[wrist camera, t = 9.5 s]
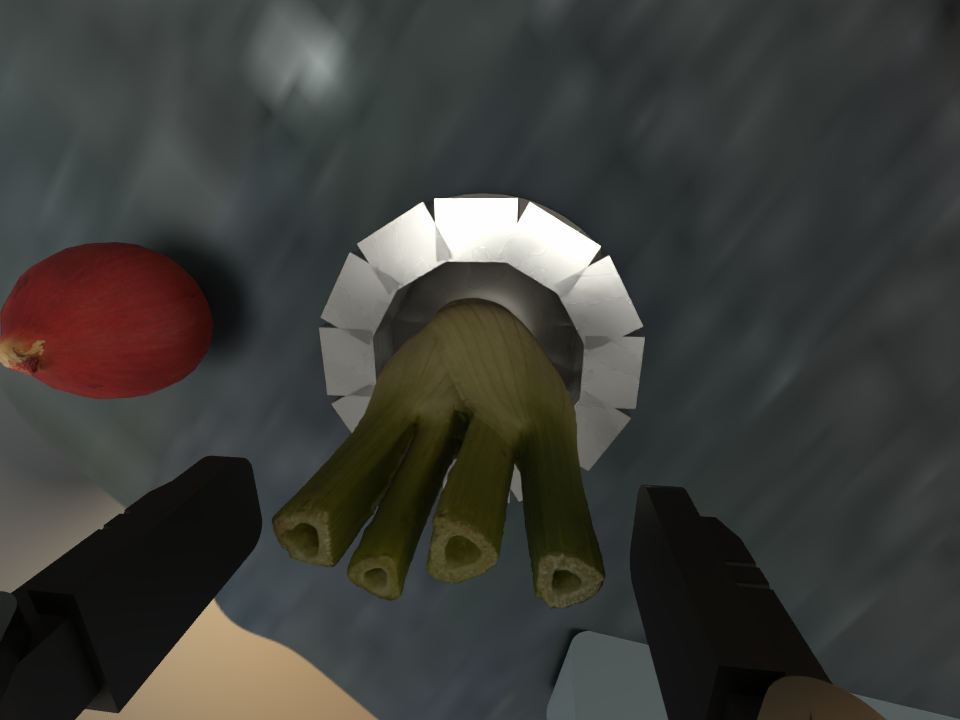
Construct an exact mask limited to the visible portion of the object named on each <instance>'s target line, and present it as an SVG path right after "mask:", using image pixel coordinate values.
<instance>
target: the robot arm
mask: <svg viewBox="0 0 960 720" xmlns="http://www.w3.org/2000/svg"><path fill="white" fill-rule="evenodd" d="M261 529H262V516H261V511H260V506H259V501H258V495H257V490H256V485H255V479H254V474H253V469H252V466H251V463H250V462H249V461H248V460H247V459H245V458H239V457H223V456H206V457H204V458H202V459H201V460H200V461H198V462H197V463H196V464H194V465H193V466H192V467H190V468H189V469H188V470H186V471H185V472H184V473H182V474H181V475H180V476H178V477H177V478H176V479H174V480H173V481H171V482H169V483H167V484H165V485H163V486H161V487H159V488H157V489H155V490H152V491H150V492H149V493H147V494H146V495H144V496H143V497H142V498H140V499H139V500H138V501H136V502H135V503H134V504H132V505H131V506H129V507H128V508H127V509H125V512H124V514H119V515H117V516H116V517H114V518H113V519H112V520H110V521H109V522H108V523H106V524H105V525H104V528H103V529H102V530H100V529H98V530H97V531H96V532H94V533H93V534H91V535H90V536H89V537H87V538H86V539H84V540H83V541H82V542H80V543H79V544H78V545H76V546H75V547H73V548H72V549H71V550H69V551H68V552H67V553H66V554H64V555H63V556H61V557H60V558H59V559H57V560H56V561H54V562H53V563H52V564H50V565H49V566H48V567H46V568H45V569H44V570H42V571H41V572H40V573H38V574H37V575H35V576H34V577H33V578H32V579H30V580H29V581H27V582H26V583H25V584H23V585H22V586H20V587H19V588H18V589H16V590H15V591H13V592H12V593H8V592H3V591H0V720H75V719H76V718H77V717H78V716H79V715H80V714H81V712H82V711H83V710H84V709H91V710H98V711H105V712H113V713H119V712H120V711H121V710H122V709H123V707H124V706H125V705H126V704H127V703H128V701H129V700H130V699H131V698H132V697H133V695H134V694H135V693H136V692H137V690H138V689H139V688H140V687H141V686H142V684H143V683H144V682H145V681H146V679H147V678H148V677H149V676H150V675H151V673H152V672H153V671H154V669H156V667H157V666H158V665H159V664H160V663H161V661H162V660H163V659H164V658H165V656H166V655H167V654H168V653H169V652H170V650H171V649H172V648H173V647H174V646H175V644H176V643H177V642H178V641H179V640H180V638H181V637H182V636H183V635H184V633H185V632H186V631H187V630H188V629H189V627H190V626H191V625H192V624H193V623H194V621H195V620H196V619H197V618H198V616H199V615H200V614H201V613H202V611H203V610H204V609H205V608H206V607H207V606H208V604H209V603H210V602H211V601H212V599H213V598H214V597H215V596H216V595H217V593H218V592H219V591H220V590H221V589H222V587H223V586H224V585H225V584H226V583H227V581H228V580H229V579H230V578H231V576H232V575H233V574H234V573H235V572H236V570H237V569H238V568H239V567H240V566H241V564H242V563H243V562H244V561H245V559H246V558H247V557H248V556H249V555H250V553H251V552H252V551H253V549H254V548H255V546H256V544H257V542H258V540H259V537H260V534H261ZM630 571H631V579H632V585H633V589H634V593H635V596H636V600H637V604H638V608H639V611H640V615H641V619H642V623H643V626H644V630H645V634H646V638H647V642H648V645H649V649H650V653H651V657H652V660H653V664H654V668H655V672H656V676H657V679H658V683H659V687H660V691H661V694H662V698H663V702H664V706H665V709H666V713H667V717H668V720H886V719H885V718H884V717H883V716H882V715H880V714H879V713H878V712H877V711H876V710H875V709H873V708H872V707H870V706H869V705H868V704H866V703H865V702H864V701H862V700H861V699H859V698H857V697H856V696H854V695H853V694H851V693H849V692H847V691H846V690H844V689H842V688H840V687H838V686H836V685H833V684H832V682H831V681H830V680H829V678H828V676H827V675H826V673H825V672H824V670H823V668H822V667H821V665H820V664H819V662H818V661H817V659H816V657H815V656H814V654H813V653H812V651H811V649H810V648H809V646H808V645H807V643H806V642H805V640H804V638H803V637H802V635H801V634H800V632H799V630H798V629H797V627H796V626H795V624H794V623H793V621H792V619H791V618H790V616H789V615H788V613H787V611H786V610H785V608H784V607H783V605H782V604H781V602H780V600H779V599H778V597H777V596H776V594H775V592H774V591H773V590H770V588H769V583H768V581H767V580H766V578H765V577H764V575H763V573H762V572H761V570H760V569H759V568H756V562H755V561H754V559H753V558H752V556H751V554H750V553H749V551H748V550H747V548H746V547H745V545H744V543H743V542H742V540H741V539H740V538H739V537H738V536H737V535H736V534H735V533H733V532H732V531H731V530H730V529H729V528H727V527H726V526H725V525H724V524H723V523H722V522H720V521H719V520H718V519H717V518H716V517H702V516H700V515H699V513H698V511H697V509H696V508H695V506H694V504H693V502H692V500H691V498H690V497H689V495H688V493H687V491H686V490H685V489H684V488H682V487H669V486H654V485H641V486H640V488H639V491H638V497H637V504H636V511H635V519H634V526H633V534H632V541H631V549H630Z"/></svg>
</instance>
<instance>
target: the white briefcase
mask: <svg viewBox="0 0 960 720" xmlns="http://www.w3.org/2000/svg"><path fill="white" fill-rule="evenodd" d="M851 694H852V693H851ZM853 695H854V696H856V697H857V698H859V699H861V700H862V701H864V702H865V703H866V704H868V705H869V706H870V707H872V708H873V709H875V710H876V711H877V712H878V713H879V714H880V715H882V716H883V717H884V718H885V719H886V720H960V719H957V718H953V717H949V716H944V715H940V714H936V713H932V712H928V711H923V710H919V709H915V708H911V707H907V706H902V705H898V704H894V703H890V702H886V701H881V700H877V699H873V698H869V697H865V696H860V695H856V694H853ZM547 720H668V717H667V713H666V709H665V706H664V702H663V698H662V694H661V691H660V687H659V683H658V679H657V676H656V672H655V668H654V664H653V660H652V657H651V653H650V649H649V645H646V644H642V643H638V642H634V641H630V640H625V639H621V638H617V637H613V636H609V635H604V634H600V633H596V632H592V631H584V632H581V633H579V634H577V635H576V636H575V637H574V638H573V640H572V642H571V644H570V647H569V650H568V652H567V655H566V658H565V660H564V663H563V666H562V668H561V671H560V674H559V676H558V679H557V682H556V684H555V687H554V690H553V693H552V695H551V698H550V701H549V703H548V706H547Z"/></svg>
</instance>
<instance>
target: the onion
mask: <svg viewBox="0 0 960 720" xmlns="http://www.w3.org/2000/svg"><path fill="white" fill-rule="evenodd" d="M0 316H1V338H0V363H1V364H2V365H3V366H5V367H7V368H9V369H11V370H13V371H18V372H22V373H25V374H27V375H30V376H31V375H32V376H33V377H35V378H37V379H38V380H40V381H42V382H43V383H45V384H47V385H48V386H50V387H52V388H54V389H58V390H61V391H65V392H69V393H72V394H76V395H79V396H83V397H88V398H94V399H115V398H131V397H137V396H143V395H148V394H151V393H153V392H156V391H158V390H161V389H164V388H166V387H168V386H170V385H172V384H174V383H176V382H178V381H180V380H182V379H184V378H185V377H186V376H187V375H189V374H190V373H191V372H192V371H194V370H195V369H196V367H197V366H198V364H199V363H200V361H201V360H202V358H203V357H204V356H205V354H206V353H207V350H208V348H209V346H210V343H211V338H212V331H213V324H214V323H213V319H212V315H211V312H210V308H209V304H208V301H207V299H206V298H205V296H204V294H203V292H202V291H201V289H200V287H199V286H198V284H197V282H196V280H195V279H193V278H192V277H191V276H190V275H189V274H188V273H187V272H186V271H185V270H184V269H183V268H182V267H181V266H180V265H179V264H178V263H176V262H175V261H173V260H171V259H170V258H168V257H167V256H165V255H162V254H160V253H157V252H155V251H152V250H149V249H147V248H144V247H142V246H139V245H135V244H126V243H118V242H111V243H91V244H84V245H79V246H75V247H70V248H66V249H64V250H62V251H60V252H58V253H56V254H54V255H52V256H50V257H48V258H46V259H44V260H43V261H41V262H39V263H37V264H36V265H34V266H32V267H31V268H29V269H28V270H27V271H26V272H25V273H24V274H23V275H22V276H21V277H20V278H19V279H18V281H17V283H16V285H15V286H14V288H13V290H12V291H11V293H10V295H9V297H8V298H7V300H6V302H5V303H4V305H3V308H2V311H1V313H0Z"/></svg>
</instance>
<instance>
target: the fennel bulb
mask: <svg viewBox="0 0 960 720" xmlns="http://www.w3.org/2000/svg"><path fill="white" fill-rule="evenodd" d="M455 459H457V460H456V462H455V464H454V466H453V467H452V468H451V469H450V471H449V473H448V476H447V482H446V485H445V487H444V490H443V491H442V493H441V496H440V499H439V502H438V507H437V510H436V512H435V515H434V517H433V521H432V523H433V528H434V529H433V532H432V538H431V543H430V549H429V555H428V560H427V572H428V573H429V574H430V575H431V576H432V577H433V578H435V579H437V580H439V581H442V582H446V583H460V582H463V581H464V580H467V579H471V578H474V577H476V576H478V575H482V574H483V573H485V572H486V571H487V570H488V569H490V568H492V567H493V566H495V565H496V563H497V560H498V558H499V555H500V549H501V541H502V537H503V533H504V531H503V528H504V523H505V520H506V507H507V504H508V497H509V492H510V487H511V481H512V477H513V471H514V464H515V465H516V467H517V469H518V470H519V472H520V476H521V489H522V496H523V504H524V505H523V508H524V515H525V527H526V532H527V539H528V548H529V555H530V558H531V567H532V571H533V583H534V591H535V597H540V598H541V599H542V600H543V601H544V602H545V603H546V604H547V606H548V607H549V608H568V607H570V606H571V605H573V604H576V603H581V602H585V601H586V600H588V599H590V598H591V597H593V596H594V595H596V594H597V593H598V591H599V590H600V588H601V587H602V585H603V581H604V579H605V570H604V566H603V560H602V554H601V552H600V548H599V544H598V541H597V538H596V535H595V532H594V529H593V526H592V521H591V517H590V512H589V509H588V503H587V500H586V496H585V493H584V488H583V484H582V479H581V472H580V462H579V458H578V448H577V423H576V412H575V408H574V406H573V402H572V398H571V395H570V393H569V392H568V391H567V388H566V386H565V385H564V382H563V380H562V378H561V377H560V376H559V374H558V371H557V369H555V367H554V365H553V362H552V360H551V359H550V358H549V356H548V355H547V353H546V352H545V350H544V348H543V347H542V346H541V344H540V342H539V341H538V340H537V338H535V337H534V336H533V334H532V333H531V332H530V330H529V329H528V328H527V327H526V326H525V325H524V324H523V323H522V321H521V320H519V319H518V318H517V317H516V316H515V315H514V314H512V313H511V311H509V310H508V309H507V308H505V307H504V306H502V305H500V304H498V303H496V302H493V301H490V300H485V299H481V298H465V299H458V300H454V301H451V302H449V303H447V304H446V305H445V306H443V307H442V308H440V309H439V311H438V312H437V313H436V314H435V316H434V317H433V318H432V319H431V320H430V322H429V323H428V324H427V325H425V326H424V327H423V328H422V329H420V330H418V331H417V332H415V334H413V335H412V336H411V337H410V338H409V339H408V340H407V341H406V342H405V343H404V344H403V345H402V346H401V347H400V349H398V350H397V351H396V352H395V353H394V355H393V356H392V357H391V358H390V359H389V361H388V362H387V364H386V365H385V366H384V368H383V369H382V371H381V373H380V375H379V377H378V379H377V382H376V385H375V387H374V390H373V393H372V396H371V398H370V401H369V403H368V406H367V409H366V411H365V414H364V415H363V417H362V418H361V419H360V421H359V423H358V425H357V427H356V428H355V429H354V431H353V433H352V434H351V435H350V436H349V437H348V438H347V440H346V441H345V442H344V443H343V444H342V445H341V446H340V448H338V449H337V450H336V452H335V453H334V454H333V455H332V457H331V458H330V459H329V460H328V461H327V462H326V463H325V464H324V465H323V466H322V467H321V468H320V469H319V471H318V472H317V473H316V474H315V475H314V476H313V477H312V478H311V479H310V480H309V481H308V482H307V483H306V485H305V486H303V487H302V488H301V489H300V490H299V492H298V493H297V494H296V495H295V496H293V497H292V499H291V500H290V501H289V502H287V503H286V504H285V505H284V506H283V507H282V508H281V509H280V510H279V511H278V512H277V513H276V514H275V515H274V516H273V518H272V524H273V530H274V533H275V535H276V537H277V539H278V542H279V544H280V545H281V546H282V548H285V549H286V550H288V551H289V554H290V557H291V558H293V559H295V560H299V561H301V562H305V563H309V564H315V565H319V566H326V567H334V566H335V565H336V564H337V563H338V562H339V560H340V559H341V557H342V556H343V555H344V553H345V552H346V550H347V549H348V548H349V546H350V545H351V544H352V542H353V540H354V539H355V538H356V536H357V535H358V533H359V532H360V530H361V528H362V527H363V526H364V524H365V523H366V522H367V520H368V519H369V518H370V517H371V516H372V515H373V514H374V511H375V509H376V507H377V506H379V507H378V510H377V512H376V514H375V516H374V518H373V520H372V522H371V523H370V524H369V525H368V526H367V527H366V529H365V530H364V533H363V536H362V539H361V541H360V544H359V546H358V548H357V549H356V550H355V552H354V554H353V556H352V558H351V560H350V563H349V565H348V569H347V570H348V572H347V575H348V577H349V579H350V581H351V582H353V583H354V584H355V585H356V586H358V587H361V588H363V589H365V590H367V591H368V592H370V593H371V594H373V595H375V596H377V597H379V598H381V599H386V600H395V599H397V598H399V597H401V594H402V591H403V587H404V581H405V577H406V574H407V572H408V569H409V566H410V563H411V561H412V559H413V555H414V553H415V550H416V547H417V544H418V541H419V539H420V536H421V534H422V532H423V529H424V526H425V525H426V522H427V519H428V516H429V515H430V512H431V509H432V506H433V505H434V503H435V500H436V497H437V496H438V493H439V490H440V489H441V487H442V484H443V480H444V477H445V475H446V473H447V471H448V469H449V466H450V465H452V463H453V460H455Z"/></svg>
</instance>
